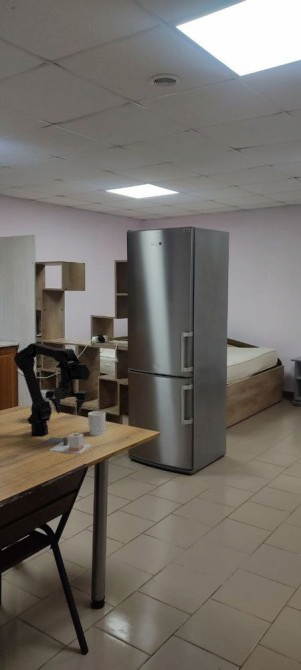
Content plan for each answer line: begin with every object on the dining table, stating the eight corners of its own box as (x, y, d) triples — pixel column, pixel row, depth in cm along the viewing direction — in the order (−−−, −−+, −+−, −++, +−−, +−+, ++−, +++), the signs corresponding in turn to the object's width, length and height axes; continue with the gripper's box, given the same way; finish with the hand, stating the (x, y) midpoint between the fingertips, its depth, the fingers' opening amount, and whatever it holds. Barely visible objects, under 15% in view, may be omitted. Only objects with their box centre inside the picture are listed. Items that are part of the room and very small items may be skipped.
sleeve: (68, 450, 203) (68, 436, 203) (73, 447, 208) (73, 433, 207) (78, 451, 202) (78, 437, 202) (83, 448, 206) (83, 433, 206)
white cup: (103, 437, 223) (102, 415, 223) (86, 437, 225) (85, 415, 224) (108, 432, 231) (107, 411, 230) (91, 432, 233) (91, 410, 232)
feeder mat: (42, 443, 216) (42, 442, 216) (51, 438, 224) (51, 437, 224) (58, 445, 214) (58, 444, 214) (67, 439, 221) (67, 438, 221)
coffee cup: (30, 420, 254) (29, 391, 252) (47, 417, 260) (46, 388, 259) (40, 424, 247) (39, 394, 245) (57, 420, 253) (56, 391, 252)
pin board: (49, 452, 205) (48, 442, 205) (62, 444, 215) (61, 435, 215) (80, 455, 201) (80, 445, 200) (92, 446, 211) (91, 437, 211)
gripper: (38, 381, 212) (39, 417, 213) (78, 383, 206) (79, 420, 208) (51, 376, 222) (52, 411, 224) (90, 378, 217) (91, 413, 218)
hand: (68, 414), depth 218 cm, fingers open, 9 cm apart
